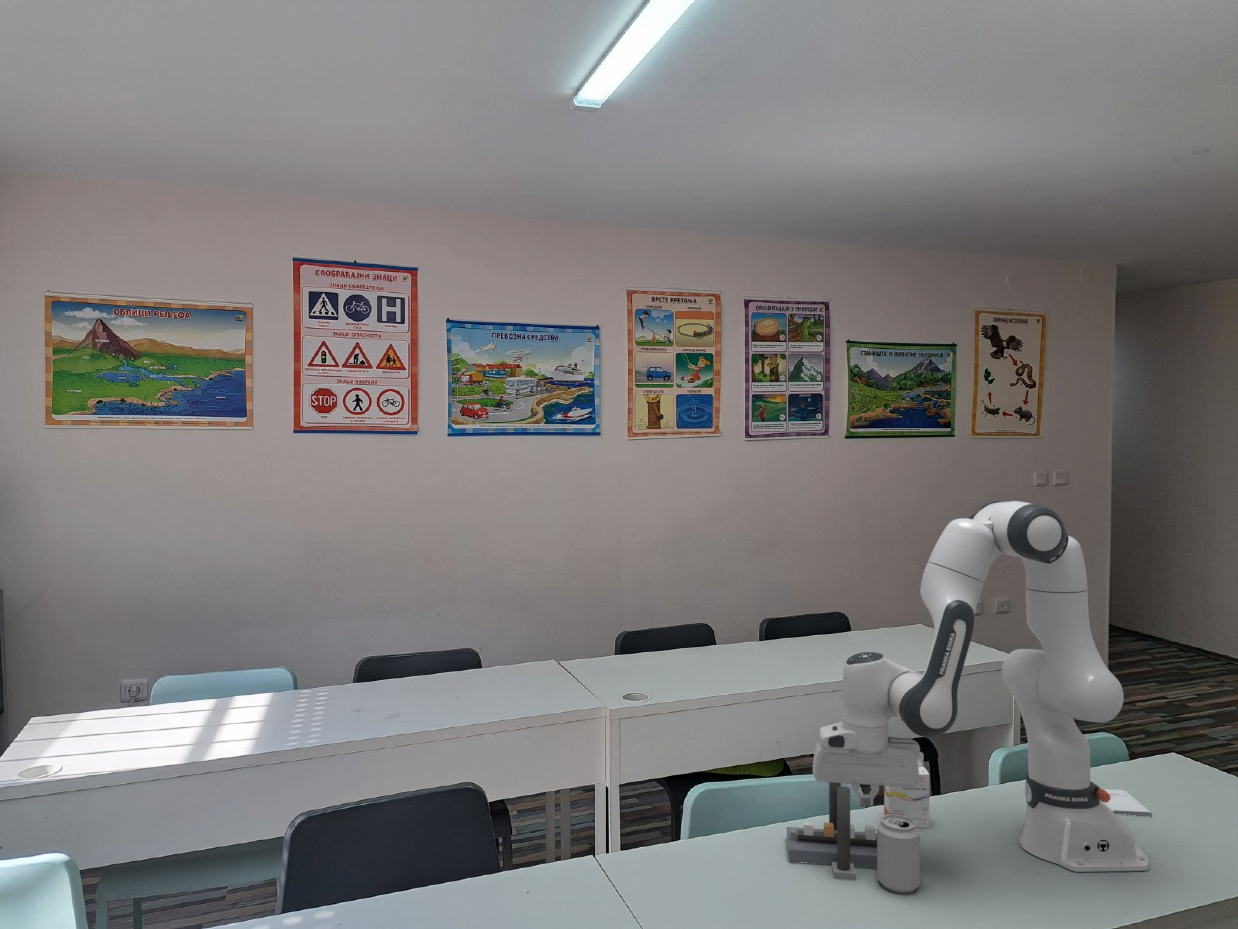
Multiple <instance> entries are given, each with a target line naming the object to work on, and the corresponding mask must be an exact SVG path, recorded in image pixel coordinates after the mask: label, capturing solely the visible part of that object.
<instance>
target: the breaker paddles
mask: <svg viewBox="0 0 1238 929" xmlns="http://www.w3.org/2000/svg"><path fill="white" fill-rule="evenodd" d="M802 822H803V827H802V828H803V831H800V830H798V839H808V840H822V841H836V842H837V833H834V825H833V823H829V822H823V829H824V832H814V831H813V829H814V823H813V821H806V820H803V821H802ZM855 832H856V829H855V825H854V824H852V823H850V843H864V844H877V836H876V833H877V829H876V827H875V825H866V824H865V825H864V832H865V835H857V834H855Z"/></svg>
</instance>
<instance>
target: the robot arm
mask: <svg viewBox="0 0 1238 929" xmlns="http://www.w3.org/2000/svg"><path fill="white" fill-rule="evenodd" d="M1082 550H1083V549H1082V547H1081V544H1080V542H1078V540H1077V539H1076V538H1074V537H1072V536H1070V535H1068V533H1067V530H1066V527H1065V524H1064V521H1063V519H1062V518H1061V517H1060V516H1059V514H1058V513H1057V512H1055V511H1054V510H1052V508H1049V507H1048V506H1045V505H1042V504H1039V503H1031V502H1025V501H1019V500H1011V501H1000V500H997V501H989V502H986V503H984V504H982V505H980V506H979V507H978V508H976V509H975V510H974V511H973V512H972V513H971V515H970V516H969V517H968V518H966V517H965V518H964V517H963V518H962V517H961V518H956V519H953V520H951V521H950V522H948V524H947V525H946V526H945V528H944V529H943V531H942V533H941V534H940V536H939V538H938V539H937V542H936V543H935V546H934V547H933V550H932V551H931V554H930V556H929V558H928V562H927V563H926V565H925V568H924V572H923V574H922V577H921V583H920V589H919V593H920V597H921V600H922V602H923V604H924V606H925V607H926V609H927V611H928V612H929V615H930V617H931V619H932V624H933V627H934V628H933V631H934V632H933V634H934V635H933V639H932V642H931V646H930V650H929V653H928V658H927V660H926V664H925V666H924V671H923V673H921V672H919V671H917V670H915V669H913V668H910V667H906V666H903V665H900V664H897V663H896V662H894V661H892V660H890V659H888V658H887V657H885V655H883V654H882V653H880V652H876V651H865V652H858V653H855V654H852V655H851V656H849V657H848V658H847V660H845V663H844V668H843V673H842V674H843V675H842V685H841V687H842V688H841V692H842V693H841V698H842V701H843V706H844V707H843V713H842V717H841V718H842V720H841V721H840V722H837V723H832V724H829V725H825V726H821V727H820V729H819V733H818V734H819V740H818V742H816V745H815V748H814V753H813V760H812V774H813V778H814V779H815V780H816V781H817V782H820V783H829V782H832V783H841V784H850V785H851V788H852V790H853V792H854V793H855V795H856V802H857V806H858V807H874V799H875V797H876V796H877V795H878V793H879V791H880V786H884V787H885V786H900V787H916V786H917V785H918V784H919V770H918V764H917V760H918V759H919V757H920V753H921V748H920V747H921V746H920V745H919V743H918V742H917V741H916V740H914V739H913V738H912V737H899V736H898V737H897V736H889V720H890V719H891V718H899V719H900V720H901V721H902V722H903V723H904V724H905V725H906V727H907V728H908V729H909V730H910V731H911V732H913V734H916V735H917V736H919V737H923V738H936V737H939V736H941V735H943V734H945V733H947V732H948V731H949V730H950V729H951V728H952V726H953V725H954V723H955V721H956V719H957V717H958V709H959V708H958V704H959V703H958V688H959V684H960V680H961V677H962V672H963V670H964V669H963V668H964V666H965V662H966V658H967V654H968V651H969V649H970V644H971V641H972V637H973V633H974V632H973V631H974V626H975V618H976V610H977V606H978V604H979V603H978V601H979V599H980V595H981V593H982V590H983V587H984V583H985V582H986V579H987V576H988V573H989V569H990V568H991V565H992V564H993V563H994V561H995V560H996V559H997V558H999V556H1001V555H1004V556H1006V557H1014V558H1015V557H1019V558H1020V559H1021V561H1022V562H1023V565H1024V570H1025V605H1026V606H1025V607H1026V610H1025V611H1026V614H1025V615H1026V624H1027V627H1028V628H1029V630H1030V632H1032V634H1034V635H1035V638H1037V639H1038V642H1039V643H1040V645H1041V646H1042V649H1043V650H1042V649H1037V648H1036V649H1034V648H1018V649H1014V650H1013V651H1011V652H1010V653H1009V654H1007V655H1006V657H1005V658H1004V660H1003V662H1002V665H1001V678H1002V681H1003V683H1004V686H1005V687H1006V688H1007V689H1008V690H1009V692H1010V693H1011V695H1012V696H1013V698H1014V700H1015V702H1016V704H1017V707H1018V709H1019V712H1020V715H1021V717H1022V721H1023V723H1024V728H1025V733H1026V737H1027V738H1026V739H1027V758H1028V759H1027V760H1028V761H1027V762H1028V764H1027V766H1028V769H1027V770H1028V772H1027V773H1026V774H1025V784H1024V786H1025V787H1024V790H1025V791H1024V793H1025V794H1024V795H1025V801H1026V809H1025V818H1024V823H1023V827H1022V831H1021V834H1020V837H1019V838H1018V839H1019V840H1018V841H1019V845H1020V846H1021V847H1022V848H1023V850H1025V851H1027V852H1028V853H1030V854H1031V855H1033V856H1035V857H1037V858H1040V859H1042V860H1044V861H1047V862H1051V863H1054V864H1057V865H1060V866H1062V867H1063V868H1065V869H1068V870H1070V871H1072V872H1078V873H1081V872H1082V873H1085V872H1087V873H1089V872H1135V871H1136V872H1138V871H1139V872H1140V871H1142V872H1144V871H1149V869H1150V862H1149V858H1148V856H1147V855H1146V854H1145V853H1144V851H1143V850H1142V849H1141V848H1140V847H1138V845H1136V844H1135V840H1134V836H1133V833H1132V831H1131V829H1130V827H1129V826H1128V825H1127V823H1126V822H1125V821H1124V820H1123V819H1122V818H1121V817H1119V815H1116V814H1115V813H1113V812H1112V811H1111V810H1110V809H1108V808H1107V807H1106V806H1105V805H1103V804H1102V803H1101V802H1100V800H1101V801H1102V802H1105V803H1107V802H1109V801H1108V800H1111V799H1109V798H1111V797H1110V795H1109V793H1107V792H1106V791H1105V790H1104V789H1105V788H1101V787H1100V786H1099V785H1097V784H1096V783H1094V782H1093V781H1091V746H1090V743H1089V740H1088V739H1087V738H1086V736H1085V735H1084V734H1083V733H1082V731H1080V729H1079V727H1078V726H1077V725H1076V722H1075V720H1074V719H1076V720H1079V721H1084V722H1091V723H1099V724H1100V723H1103V724H1104V723H1108V722H1109V721H1112V720H1114V719H1115V717H1117V716H1118V715H1119V713H1120V712H1121V710H1122V708H1123V705H1124V697H1125V696H1124V689H1123V687H1122V684H1121V683H1120V681H1119V679H1118V678H1117V677H1116V676H1115V675H1114V674H1113V673H1112V672H1111V671H1110V670H1109V669H1108V667H1107V665H1106V664H1105V663H1104V661H1103V659H1102V656H1101V655H1100V653H1099V651H1098V648H1097V646H1096V643H1095V641H1094V638H1093V635H1092V634H1093V633H1092V629H1091V626H1090V625H1091V624H1090V614H1089V612H1090V611H1089V598H1088V596H1089V594H1088V593H1089V592H1088V590H1089V589H1088V578H1087V570H1086V563H1085V559H1084V554H1083V551H1082ZM861 785H870V788H871V790H870V791H869V793H868V794H864V793H860V791H859V790H860V788H861Z"/></svg>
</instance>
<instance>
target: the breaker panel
mask: <svg viewBox="0 0 1238 929" xmlns="http://www.w3.org/2000/svg"><path fill="white" fill-rule="evenodd" d="M798 830H800V831H803V827H797V826H795V827H793V826H786V842H787V843H786V845H787V844H788V845H787V853H788V855H789V856H788V862H789V861H790V862H789V863H793V862H804V863H803V864H806V863H805V862H807V863H816V864H815V865H820V864H822V865H823V866H832V862H837V842H836V841H822V840H808V839H798ZM813 831H814V832H824V828H823V829H822V828H813ZM834 833H837V830H834ZM855 834H857V835H865V831H864V832H863V831H855ZM876 836H877V832H876ZM850 863H853V865H854V868H858V869H859V868H862V869H871V870H872V869H873V870H877V844H864V843H850ZM822 865H821V866H822Z"/></svg>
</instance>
